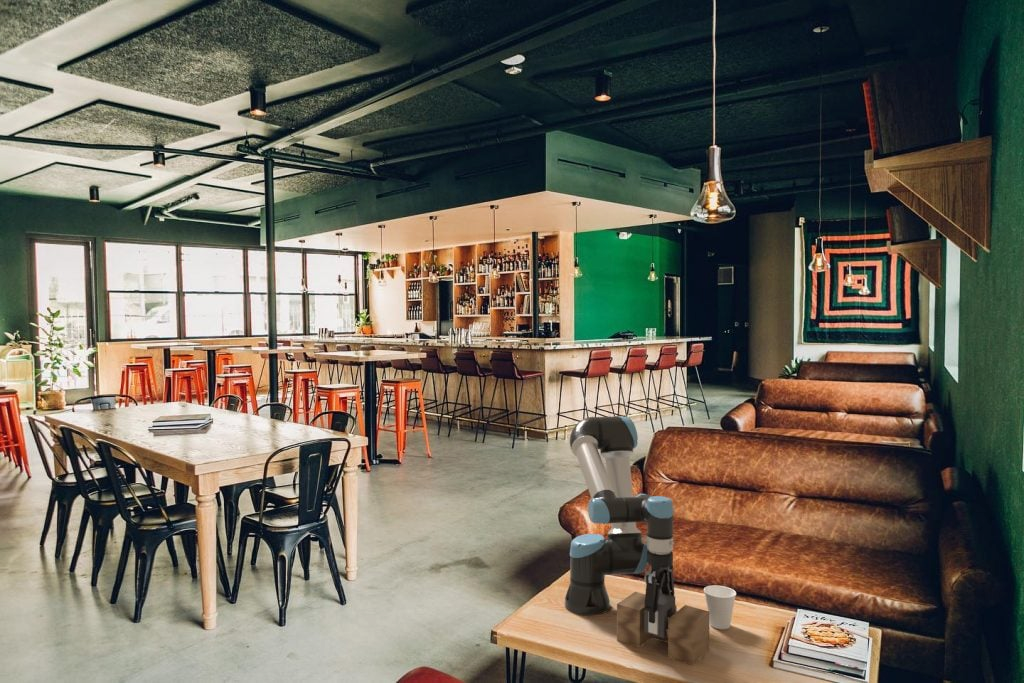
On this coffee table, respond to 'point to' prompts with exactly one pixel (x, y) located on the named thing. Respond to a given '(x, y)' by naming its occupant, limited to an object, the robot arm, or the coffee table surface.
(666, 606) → the slotted gray cube
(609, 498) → the robot arm
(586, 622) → the coffee table surface
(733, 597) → the cup
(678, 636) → the wooden block dumbbell
